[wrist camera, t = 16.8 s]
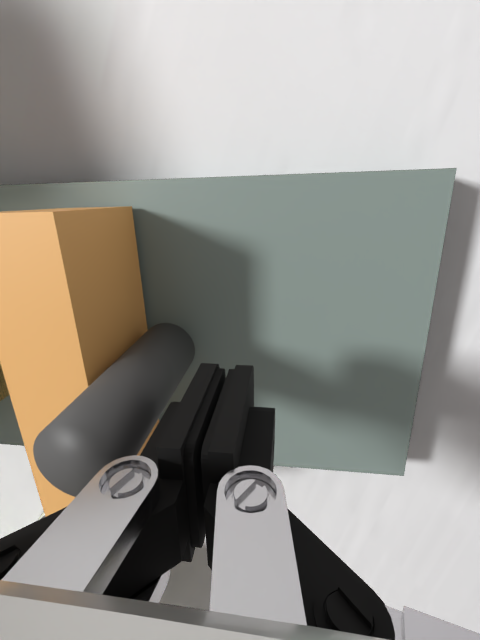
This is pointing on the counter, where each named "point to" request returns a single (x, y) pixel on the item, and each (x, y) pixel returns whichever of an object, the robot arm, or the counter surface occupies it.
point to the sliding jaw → (81, 344)
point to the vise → (290, 294)
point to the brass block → (3, 386)
